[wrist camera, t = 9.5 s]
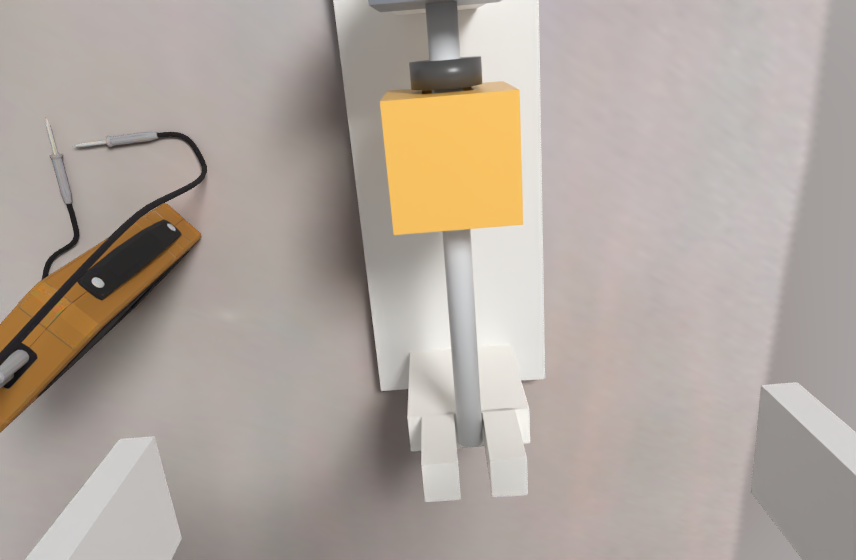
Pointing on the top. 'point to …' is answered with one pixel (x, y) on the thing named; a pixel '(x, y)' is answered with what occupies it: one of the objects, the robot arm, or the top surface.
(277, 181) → the top surface
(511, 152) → the cube with square hole
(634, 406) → the top surface
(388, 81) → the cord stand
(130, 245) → the multimeter
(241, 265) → the top surface
